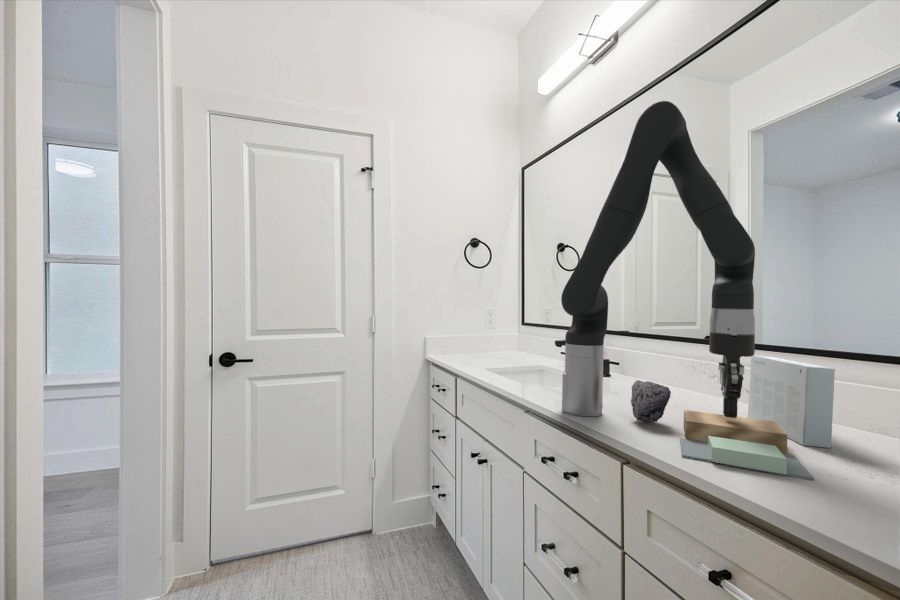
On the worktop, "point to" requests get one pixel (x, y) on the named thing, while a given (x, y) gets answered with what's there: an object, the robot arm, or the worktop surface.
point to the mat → (701, 452)
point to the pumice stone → (649, 401)
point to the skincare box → (793, 398)
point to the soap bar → (747, 454)
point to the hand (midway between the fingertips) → (730, 416)
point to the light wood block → (733, 429)
